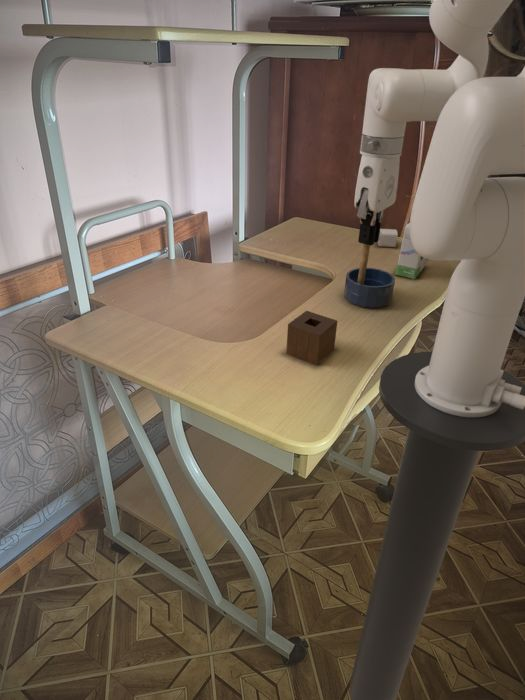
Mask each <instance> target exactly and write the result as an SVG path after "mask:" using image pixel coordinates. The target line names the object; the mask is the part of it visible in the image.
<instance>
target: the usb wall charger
mask: <svg viewBox="0 0 525 700" xmlns="http://www.w3.org/2000/svg"><path fill="white" fill-rule="evenodd" d="M398 236H399V233H398V230H397V229H395V228H394V229H393V228H380V233H379V240H378V242H377V245H378V247H381V248H396V247H397V242H398Z"/></svg>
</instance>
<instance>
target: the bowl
mask: <svg viewBox="0 0 525 700" xmlns="http://www.w3.org/2000/svg"><path fill="white" fill-rule="evenodd" d="M359 269H360V267H359V268H358V267H356V268H353V269H350V270H349V271H348V272H346V275H345V283H344V292H343V296H344V298H345V299H346V300H347V301H348V302H350V303H351V304H352V305H355V306H358V307H362V308H369V309H375V308H381V307H385V306H388V305H389V304H390V303H391V302H392V300H393V294H394V288H395V284H396V277H395V276H394V274H392V273H390V272H388V271H386V270H383V269H379V268H374V267H367V268H366V274H365V280H364V285H362V284H359V283H357V281H358V275H359Z"/></svg>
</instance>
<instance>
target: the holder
mask: <svg viewBox="0 0 525 700" xmlns="http://www.w3.org/2000/svg"><path fill="white" fill-rule="evenodd" d="M337 329H338V320H337V319H334V318H331V317H327V316H326V315H325V316H324V315H321V314H319V313H316V312H312V311H309V310H305V311H304V312H302V313H301V314H300V315H298V316H296V318H294V319H293V320H291V321H290V322H288V324H287V334H286V335H287V336H286V337H287V338H286V352H285V354H286V355H288V356H291V357H293V358H296V359H299V360H302V361H304V362H307V363H309V364H312V365H315V366H319V364H321V363H322V362H323V361H324V360H325V359H326V358H328V356H329V355H330V354H331V353H333V352H334V351H335V345H336V337H337Z"/></svg>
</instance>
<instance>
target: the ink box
mask: <svg viewBox="0 0 525 700" xmlns="http://www.w3.org/2000/svg"><path fill="white" fill-rule="evenodd" d="M426 262H427V259H426V258H424V257H422V256H421V255H419V254H418V253H417V252H416V250H415V249H414V247H413V245H412V242H411V238H410V222H408V223H407V224H406V225H405V227H404V231H403V236H402V241H401V245H400V250H399V255H398V259H397V265H396V269H395V276H400V277H405V278H408V279H413V280H416V279H417V277H418V276H419V274H420V273H421V272H422V271H423V269H425V266H426Z"/></svg>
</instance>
